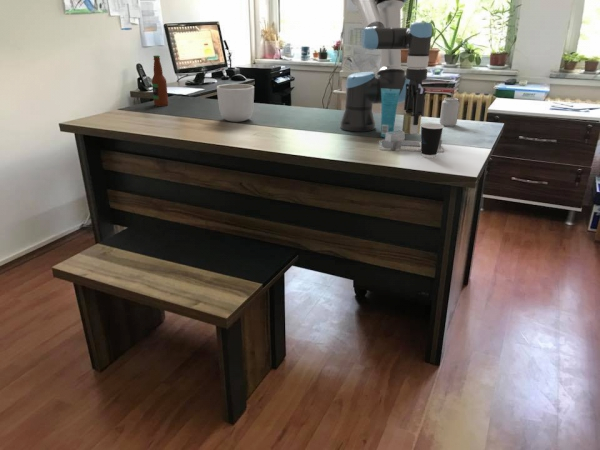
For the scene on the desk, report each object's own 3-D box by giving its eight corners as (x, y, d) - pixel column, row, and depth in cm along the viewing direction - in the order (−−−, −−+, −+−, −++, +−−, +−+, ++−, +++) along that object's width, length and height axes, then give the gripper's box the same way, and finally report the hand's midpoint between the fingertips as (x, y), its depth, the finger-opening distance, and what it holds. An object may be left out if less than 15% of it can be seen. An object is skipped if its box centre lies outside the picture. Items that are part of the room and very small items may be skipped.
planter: (247, 115, 241) (246, 83, 235) (260, 122, 227) (259, 88, 221) (213, 118, 234) (212, 84, 228) (224, 125, 220) (223, 90, 214)
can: (457, 127, 222) (460, 100, 217) (439, 126, 223) (443, 99, 219) (455, 123, 229) (459, 97, 224) (438, 122, 230) (442, 96, 225)
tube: (395, 135, 206) (399, 88, 198) (396, 138, 201) (400, 89, 194) (377, 134, 207) (380, 87, 199) (377, 137, 202) (381, 89, 195)
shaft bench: (380, 150, 184) (381, 134, 181) (378, 141, 196) (380, 126, 194) (443, 152, 182) (445, 136, 179) (438, 143, 194) (440, 128, 192)
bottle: (157, 103, 267) (152, 54, 257) (170, 104, 266) (165, 55, 256) (152, 106, 260) (146, 56, 250) (165, 106, 260) (160, 56, 250)
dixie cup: (413, 156, 177) (416, 125, 173) (424, 151, 183) (427, 122, 178) (433, 160, 172) (437, 128, 168) (443, 155, 178) (447, 125, 174)
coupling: (406, 134, 187) (408, 115, 184) (402, 131, 191) (403, 113, 188) (419, 133, 187) (421, 115, 185) (414, 131, 192) (416, 112, 189)
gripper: (436, 70, 172) (429, 136, 181) (417, 65, 189) (411, 126, 198) (416, 70, 171) (409, 137, 180) (398, 65, 188) (393, 127, 197)
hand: (410, 131), depth 189 cm, fingers closed on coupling, 5 cm apart
